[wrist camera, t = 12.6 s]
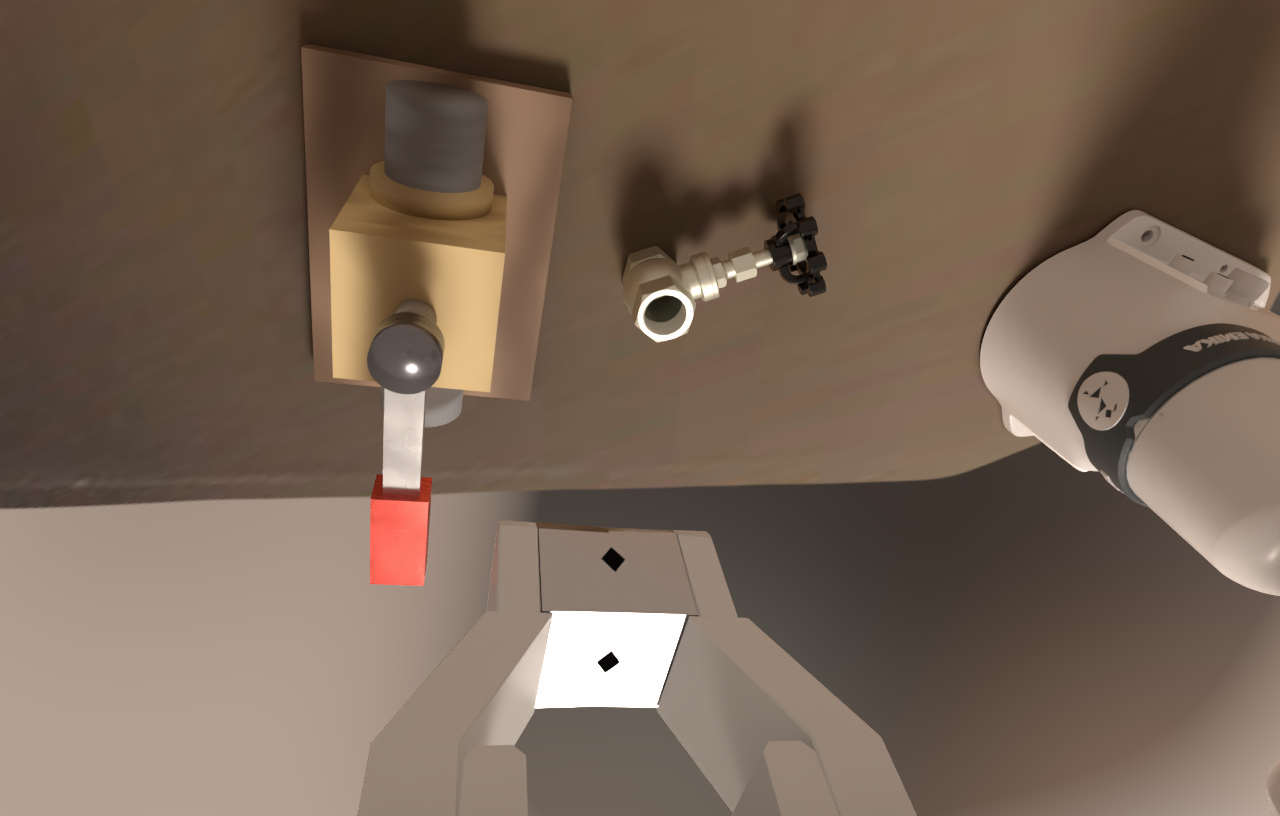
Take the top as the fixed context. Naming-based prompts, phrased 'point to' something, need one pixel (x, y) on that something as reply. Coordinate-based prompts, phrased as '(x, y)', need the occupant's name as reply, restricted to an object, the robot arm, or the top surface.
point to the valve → (718, 273)
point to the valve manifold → (430, 217)
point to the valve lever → (403, 447)
